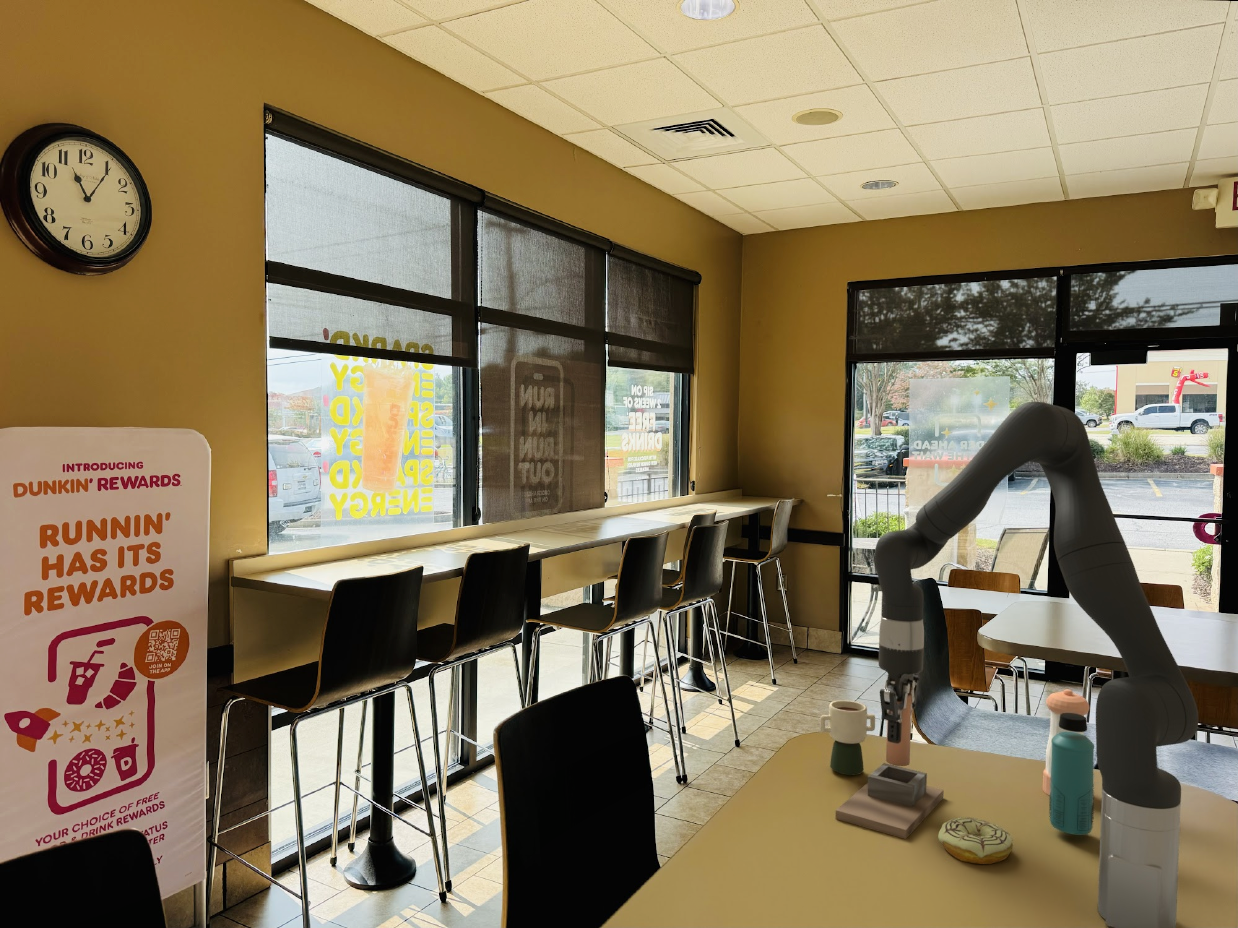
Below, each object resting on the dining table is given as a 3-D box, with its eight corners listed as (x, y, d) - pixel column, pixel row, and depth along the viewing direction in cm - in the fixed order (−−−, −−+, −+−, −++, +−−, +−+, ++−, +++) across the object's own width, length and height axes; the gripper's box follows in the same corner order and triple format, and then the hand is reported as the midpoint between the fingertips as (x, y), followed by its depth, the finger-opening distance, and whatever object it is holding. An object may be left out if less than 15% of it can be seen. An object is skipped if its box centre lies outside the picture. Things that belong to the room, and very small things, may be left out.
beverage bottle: (1098, 846, 142) (1102, 722, 142) (1053, 841, 144) (1057, 719, 143) (1085, 828, 149) (1089, 710, 148) (1042, 824, 150) (1046, 707, 149)
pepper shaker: (1093, 793, 163) (1097, 690, 162) (1077, 804, 158) (1081, 698, 157) (1052, 781, 168) (1055, 681, 167) (1036, 792, 163) (1039, 689, 163)
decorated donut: (926, 848, 142) (926, 825, 141) (962, 830, 148) (963, 807, 148) (988, 874, 134) (988, 850, 133) (1023, 853, 140) (1024, 830, 140)
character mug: (867, 764, 176) (868, 699, 176) (881, 778, 169) (882, 710, 168) (813, 765, 175) (814, 700, 175) (824, 779, 168) (826, 712, 168)
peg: (905, 767, 155) (907, 699, 155) (882, 762, 158) (884, 695, 157) (912, 760, 159) (914, 694, 158) (890, 755, 161) (892, 690, 160)
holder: (905, 838, 144) (906, 808, 144) (835, 818, 152) (836, 789, 151) (943, 797, 160) (944, 770, 160) (878, 781, 168) (878, 755, 167)
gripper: (908, 654, 149) (905, 755, 150) (935, 638, 161) (932, 732, 161) (865, 647, 154) (863, 745, 155) (894, 632, 165) (892, 723, 166)
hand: (898, 737), depth 158 cm, fingers closed on peg, 4 cm apart
